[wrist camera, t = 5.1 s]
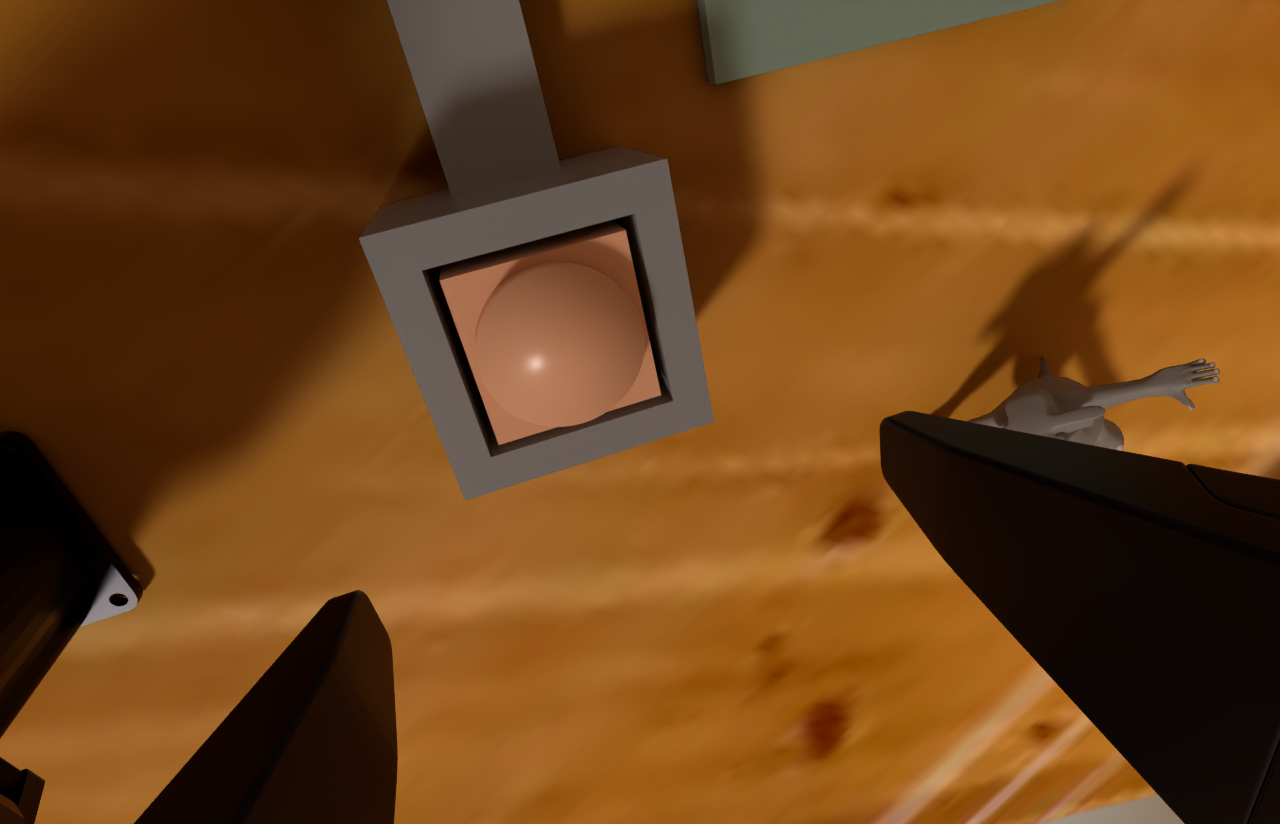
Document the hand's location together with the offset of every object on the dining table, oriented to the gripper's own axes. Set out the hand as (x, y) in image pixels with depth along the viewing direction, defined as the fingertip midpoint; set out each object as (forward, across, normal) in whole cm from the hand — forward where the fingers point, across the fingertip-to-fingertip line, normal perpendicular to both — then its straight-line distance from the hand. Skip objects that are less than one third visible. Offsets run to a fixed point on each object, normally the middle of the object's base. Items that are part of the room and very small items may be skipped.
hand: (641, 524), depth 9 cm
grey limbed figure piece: (+13, -18, +9) cm, 24 cm away
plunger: (+13, 0, 0) cm, 13 cm away
